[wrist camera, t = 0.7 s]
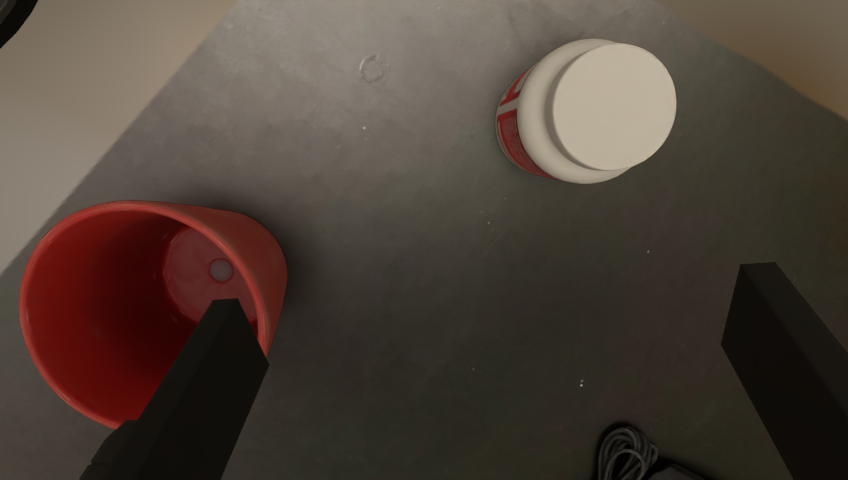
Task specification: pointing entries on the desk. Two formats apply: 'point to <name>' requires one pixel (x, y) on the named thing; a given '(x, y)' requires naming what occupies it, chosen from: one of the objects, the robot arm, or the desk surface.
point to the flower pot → (139, 296)
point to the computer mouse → (635, 458)
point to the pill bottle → (587, 112)
